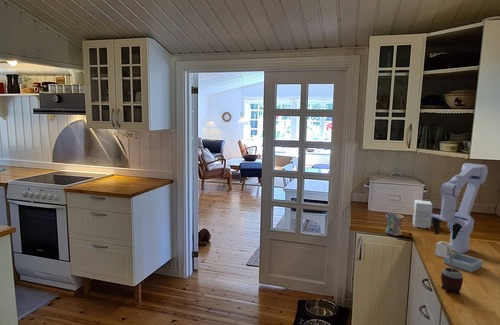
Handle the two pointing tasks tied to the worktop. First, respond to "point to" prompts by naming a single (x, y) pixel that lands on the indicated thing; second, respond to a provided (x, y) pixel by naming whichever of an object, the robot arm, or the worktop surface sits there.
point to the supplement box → (422, 214)
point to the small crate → (443, 249)
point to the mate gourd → (451, 278)
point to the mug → (394, 224)
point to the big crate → (463, 262)
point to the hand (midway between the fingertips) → (445, 236)
